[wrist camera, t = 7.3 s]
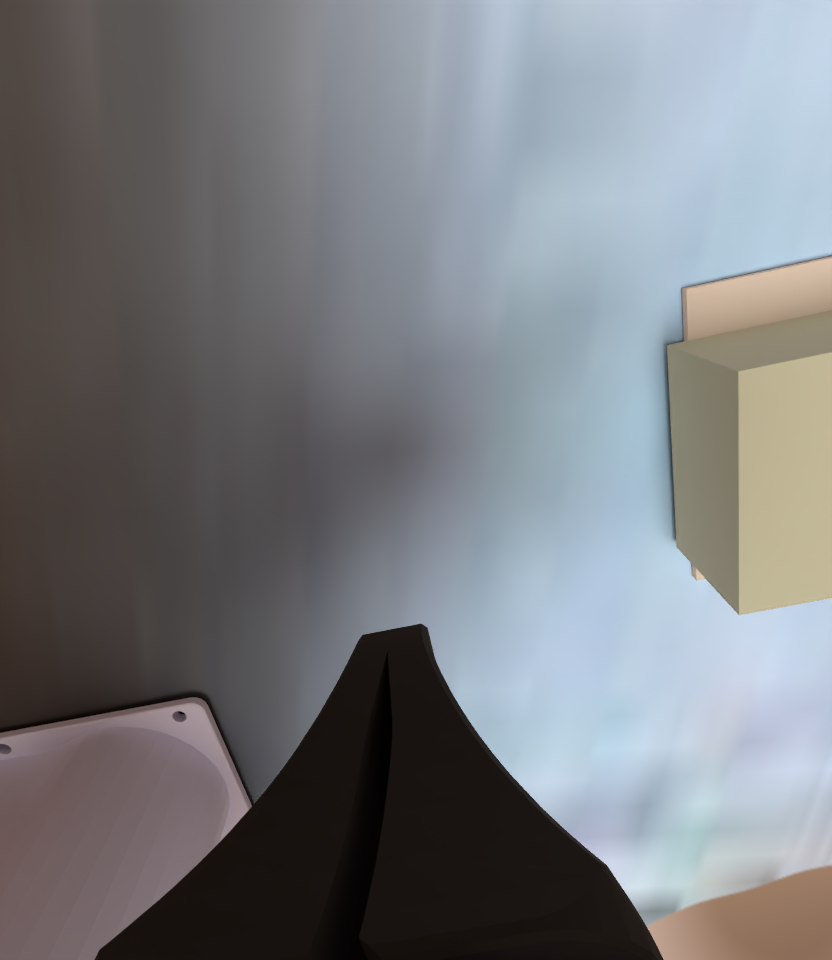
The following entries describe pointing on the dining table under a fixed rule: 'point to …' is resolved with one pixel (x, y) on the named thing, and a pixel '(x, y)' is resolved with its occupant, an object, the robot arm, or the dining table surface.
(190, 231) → the dining table surface
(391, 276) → the dining table surface
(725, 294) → the mat
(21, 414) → the dining table surface
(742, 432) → the sage block
